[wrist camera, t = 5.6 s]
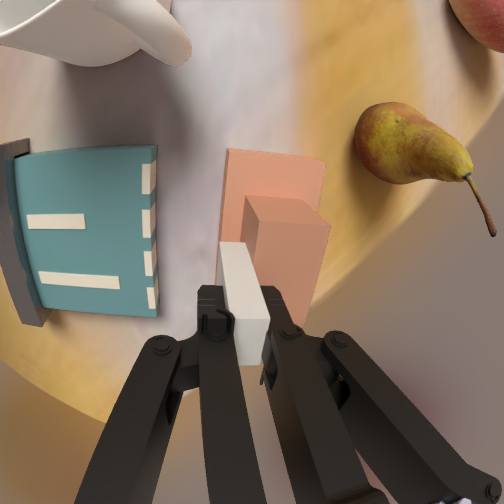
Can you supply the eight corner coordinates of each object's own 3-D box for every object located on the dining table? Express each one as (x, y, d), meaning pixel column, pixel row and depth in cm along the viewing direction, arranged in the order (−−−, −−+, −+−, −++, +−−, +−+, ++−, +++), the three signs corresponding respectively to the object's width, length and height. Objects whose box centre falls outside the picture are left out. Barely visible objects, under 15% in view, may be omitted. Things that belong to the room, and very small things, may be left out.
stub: (214, 302, 22) (220, 363, 16) (226, 148, 16) (238, 163, 11) (285, 302, 23) (308, 357, 17) (314, 158, 18) (362, 180, 12)
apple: (478, 65, 15) (537, 72, 8) (427, 4, 12) (490, -8, 5) (487, 23, 12) (537, 25, 5) (440, -32, 9) (491, -44, 2)
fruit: (411, 142, 18) (535, 187, 8) (367, 186, 19) (488, 262, 9) (376, 86, 16) (517, 93, 5) (325, 131, 17) (467, 168, 6)
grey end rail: (36, 301, 19) (22, 323, 16) (7, 142, 12) (-18, 149, 10) (55, 304, 19) (42, 327, 17) (28, 138, 13) (3, 144, 10)
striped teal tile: (30, 290, 18) (20, 304, 16) (5, 157, 13) (-10, 163, 11) (159, 301, 21) (156, 318, 19) (157, 145, 16) (151, 148, 14)
